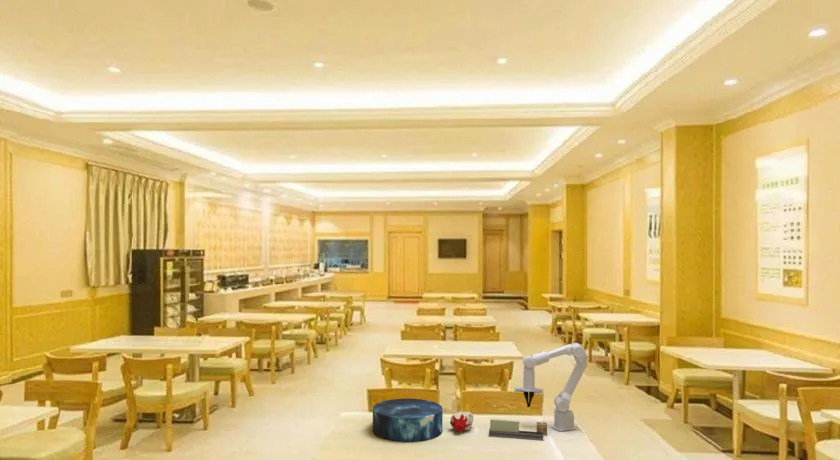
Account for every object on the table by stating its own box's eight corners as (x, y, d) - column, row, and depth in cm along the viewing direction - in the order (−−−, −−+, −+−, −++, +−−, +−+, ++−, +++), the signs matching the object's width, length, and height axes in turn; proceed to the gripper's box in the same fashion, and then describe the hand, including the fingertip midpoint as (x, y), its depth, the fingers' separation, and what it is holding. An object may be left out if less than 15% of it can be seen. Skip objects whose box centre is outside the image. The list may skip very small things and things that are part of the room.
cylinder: (364, 424, 298) (364, 401, 298) (427, 417, 310) (427, 396, 310) (384, 446, 265) (384, 421, 265) (453, 438, 277) (453, 414, 277)
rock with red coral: (473, 425, 294) (470, 439, 280) (452, 423, 296) (447, 436, 282) (473, 408, 293) (470, 421, 279) (452, 407, 296) (447, 419, 281)
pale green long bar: (519, 433, 281) (519, 420, 281) (519, 434, 279) (519, 421, 279) (490, 430, 284) (490, 418, 284) (490, 432, 282) (490, 419, 282)
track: (542, 435, 281) (542, 431, 281) (543, 440, 274) (543, 435, 274) (489, 431, 286) (489, 427, 286) (488, 436, 280) (488, 431, 280)
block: (536, 431, 288) (536, 421, 288) (546, 432, 287) (546, 422, 287) (536, 435, 283) (536, 424, 283) (547, 435, 282) (547, 425, 282)
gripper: (514, 381, 293) (514, 407, 292) (543, 382, 290) (543, 409, 290) (514, 377, 300) (514, 404, 299) (543, 379, 297) (542, 405, 297)
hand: (528, 406), depth 295 cm, fingers closed
